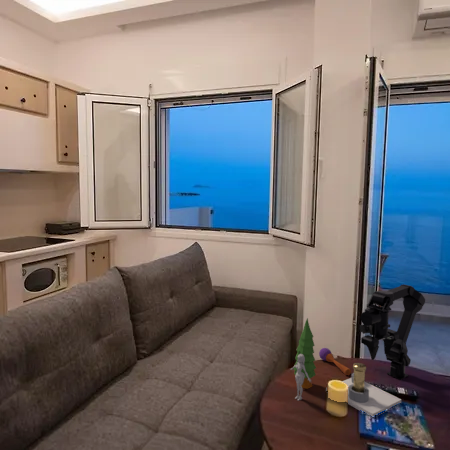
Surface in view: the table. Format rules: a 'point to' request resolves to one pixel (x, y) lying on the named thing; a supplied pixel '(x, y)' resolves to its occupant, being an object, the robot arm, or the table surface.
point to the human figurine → (300, 375)
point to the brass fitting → (359, 377)
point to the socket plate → (370, 398)
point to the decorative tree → (306, 354)
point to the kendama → (327, 356)
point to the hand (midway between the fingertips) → (379, 356)
